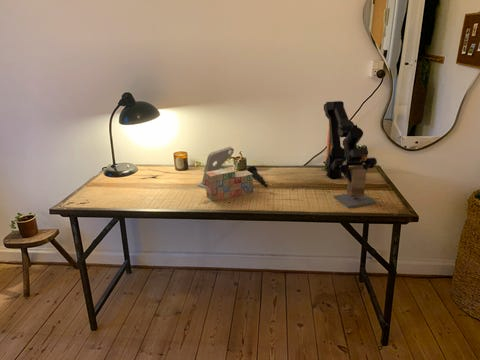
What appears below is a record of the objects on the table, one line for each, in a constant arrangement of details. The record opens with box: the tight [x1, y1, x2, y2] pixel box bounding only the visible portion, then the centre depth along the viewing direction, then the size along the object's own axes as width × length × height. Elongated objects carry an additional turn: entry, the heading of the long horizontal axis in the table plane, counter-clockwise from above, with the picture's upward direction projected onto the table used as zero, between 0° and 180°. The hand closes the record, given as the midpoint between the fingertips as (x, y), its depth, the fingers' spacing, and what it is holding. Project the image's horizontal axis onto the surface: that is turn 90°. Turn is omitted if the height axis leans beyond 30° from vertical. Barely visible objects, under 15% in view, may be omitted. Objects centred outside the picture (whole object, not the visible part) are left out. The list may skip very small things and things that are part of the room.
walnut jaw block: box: [346, 165, 367, 197], centre depth 174 cm, size 6×6×12 cm
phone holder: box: [197, 146, 234, 189], centre depth 198 cm, size 17×10×18 cm, turn 137°
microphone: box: [246, 165, 268, 188], centre depth 203 cm, size 6×6×20 cm
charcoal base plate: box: [333, 193, 378, 209], centre depth 177 cm, size 14×12×1 cm
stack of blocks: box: [204, 167, 254, 202], centre depth 185 cm, size 21×6×12 cm, turn 115°
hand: (357, 181), depth 173 cm, fingers closed on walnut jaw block, 6 cm apart
